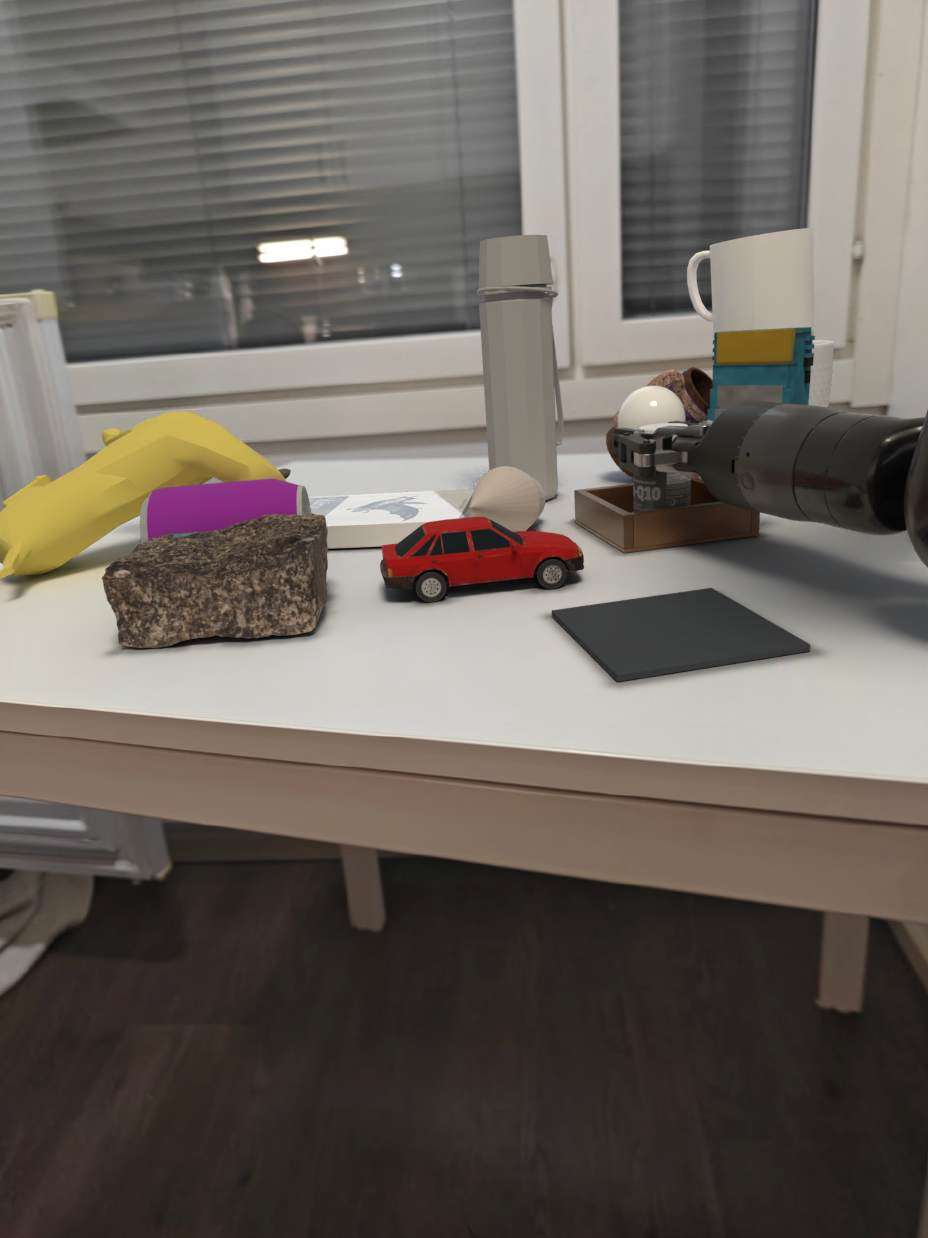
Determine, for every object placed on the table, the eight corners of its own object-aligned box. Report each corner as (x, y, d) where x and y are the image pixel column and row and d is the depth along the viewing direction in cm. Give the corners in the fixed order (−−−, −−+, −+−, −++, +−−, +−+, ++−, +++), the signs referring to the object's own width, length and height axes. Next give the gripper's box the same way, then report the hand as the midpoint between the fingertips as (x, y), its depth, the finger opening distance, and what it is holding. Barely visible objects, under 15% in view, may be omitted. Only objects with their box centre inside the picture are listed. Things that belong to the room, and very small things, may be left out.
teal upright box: (808, 489, 82) (819, 326, 77) (788, 497, 79) (797, 329, 74) (718, 481, 89) (723, 330, 84) (697, 488, 86) (700, 333, 81)
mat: (711, 593, 55) (711, 587, 55) (810, 651, 45) (811, 644, 45) (551, 616, 53) (551, 610, 53) (617, 682, 43) (617, 675, 43)
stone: (321, 636, 53) (306, 545, 51) (110, 656, 53) (87, 565, 51) (339, 583, 63) (328, 505, 61) (163, 599, 63) (146, 522, 61)
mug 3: (706, 456, 103) (709, 344, 99) (799, 451, 102) (806, 337, 98) (732, 478, 89) (736, 349, 85) (840, 472, 88) (850, 341, 84)
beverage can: (165, 605, 67) (316, 592, 67) (131, 550, 60) (299, 535, 61) (172, 528, 71) (315, 515, 71) (141, 467, 64) (299, 454, 65)
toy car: (591, 586, 59) (589, 515, 57) (385, 609, 57) (377, 537, 55) (568, 562, 65) (566, 498, 63) (381, 582, 63) (374, 517, 61)
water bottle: (522, 509, 83) (508, 233, 75) (474, 500, 89) (457, 244, 81) (589, 493, 88) (583, 233, 80) (539, 485, 94) (529, 243, 86)
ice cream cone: (463, 450, 64) (523, 451, 78) (418, 512, 67) (484, 503, 80) (522, 502, 63) (572, 494, 77) (475, 563, 66) (532, 544, 79)
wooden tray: (692, 508, 79) (693, 476, 78) (759, 535, 68) (760, 498, 67) (574, 522, 77) (573, 489, 76) (624, 553, 66) (623, 515, 65)
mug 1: (638, 439, 98) (720, 372, 90) (655, 489, 95) (742, 424, 87) (576, 414, 91) (659, 340, 83) (593, 467, 88) (680, 395, 80)
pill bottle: (622, 524, 73) (621, 427, 70) (665, 516, 75) (666, 420, 72) (657, 534, 69) (658, 431, 66) (702, 525, 71) (704, 424, 68)
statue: (20, 660, 76) (120, 673, 62) (-81, 542, 70) (4, 527, 57) (229, 502, 91) (346, 484, 78) (160, 394, 86) (273, 353, 72)
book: (208, 553, 75) (204, 531, 74) (261, 517, 88) (258, 499, 87) (463, 543, 72) (461, 520, 71) (480, 507, 85) (479, 488, 84)
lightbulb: (613, 507, 81) (611, 390, 78) (623, 494, 87) (622, 384, 83) (681, 507, 79) (682, 387, 75) (687, 494, 85) (689, 380, 81)
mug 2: (818, 333, 91) (818, 230, 88) (808, 339, 83) (807, 225, 80) (700, 347, 97) (696, 251, 94) (680, 354, 89) (674, 249, 85)
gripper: (870, 393, 58) (713, 383, 73) (698, 415, 54) (568, 400, 69) (861, 499, 61) (711, 469, 76) (696, 530, 56) (571, 492, 71)
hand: (644, 437), depth 72 cm, fingers closed on pill bottle, 4 cm apart
